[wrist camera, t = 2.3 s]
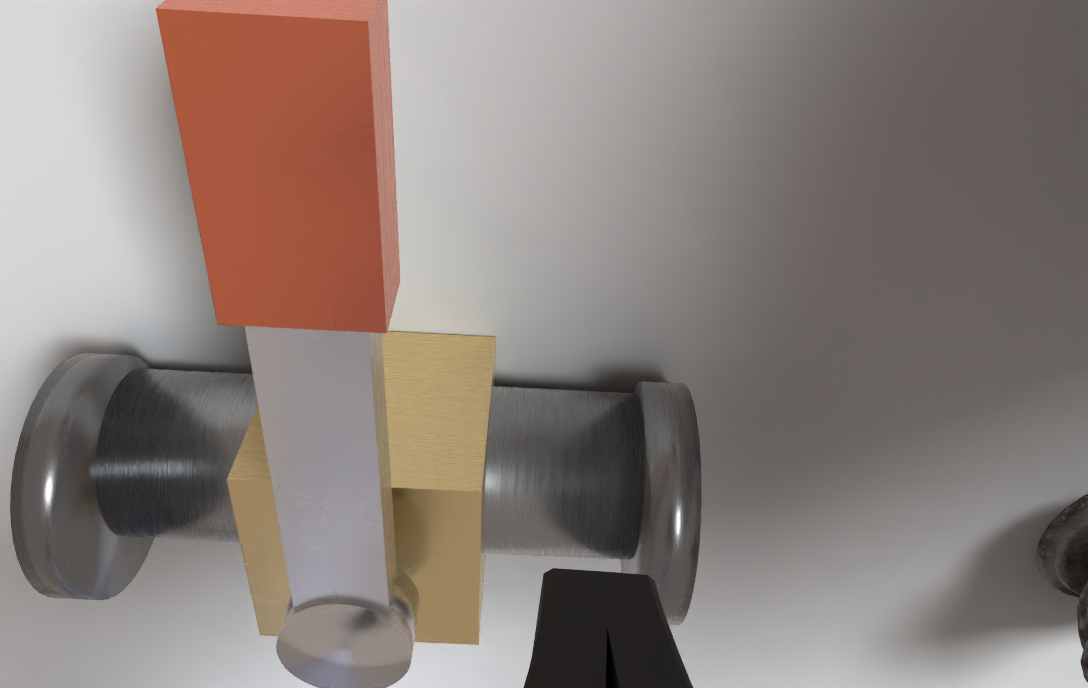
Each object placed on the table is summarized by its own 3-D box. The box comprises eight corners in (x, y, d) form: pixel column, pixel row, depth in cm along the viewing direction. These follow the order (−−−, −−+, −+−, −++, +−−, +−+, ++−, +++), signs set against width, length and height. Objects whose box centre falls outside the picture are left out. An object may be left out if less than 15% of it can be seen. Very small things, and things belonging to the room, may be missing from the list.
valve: (148, 474, 25) (56, 649, 20) (99, 306, 21) (-22, 471, 17) (651, 497, 25) (672, 675, 21) (680, 336, 22) (713, 507, 17)
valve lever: (421, 636, 19) (413, 695, 18) (300, 631, 19) (285, 690, 18) (394, -13, 11) (376, 21, 10) (187, -25, 11) (147, 7, 10)
